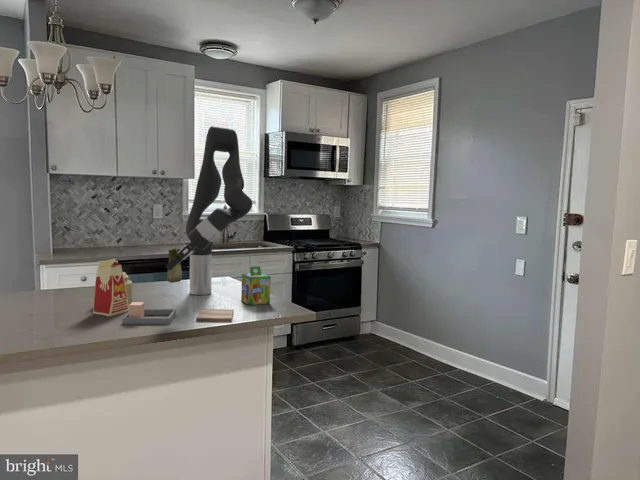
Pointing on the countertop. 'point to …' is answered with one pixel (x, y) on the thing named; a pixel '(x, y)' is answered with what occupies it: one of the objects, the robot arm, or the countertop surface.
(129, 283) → the sugar bowl
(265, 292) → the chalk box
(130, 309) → the pink rectangular block
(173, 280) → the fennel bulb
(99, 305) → the milk carton
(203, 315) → the board
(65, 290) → the countertop surface
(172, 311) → the grey tray
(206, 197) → the robot arm
